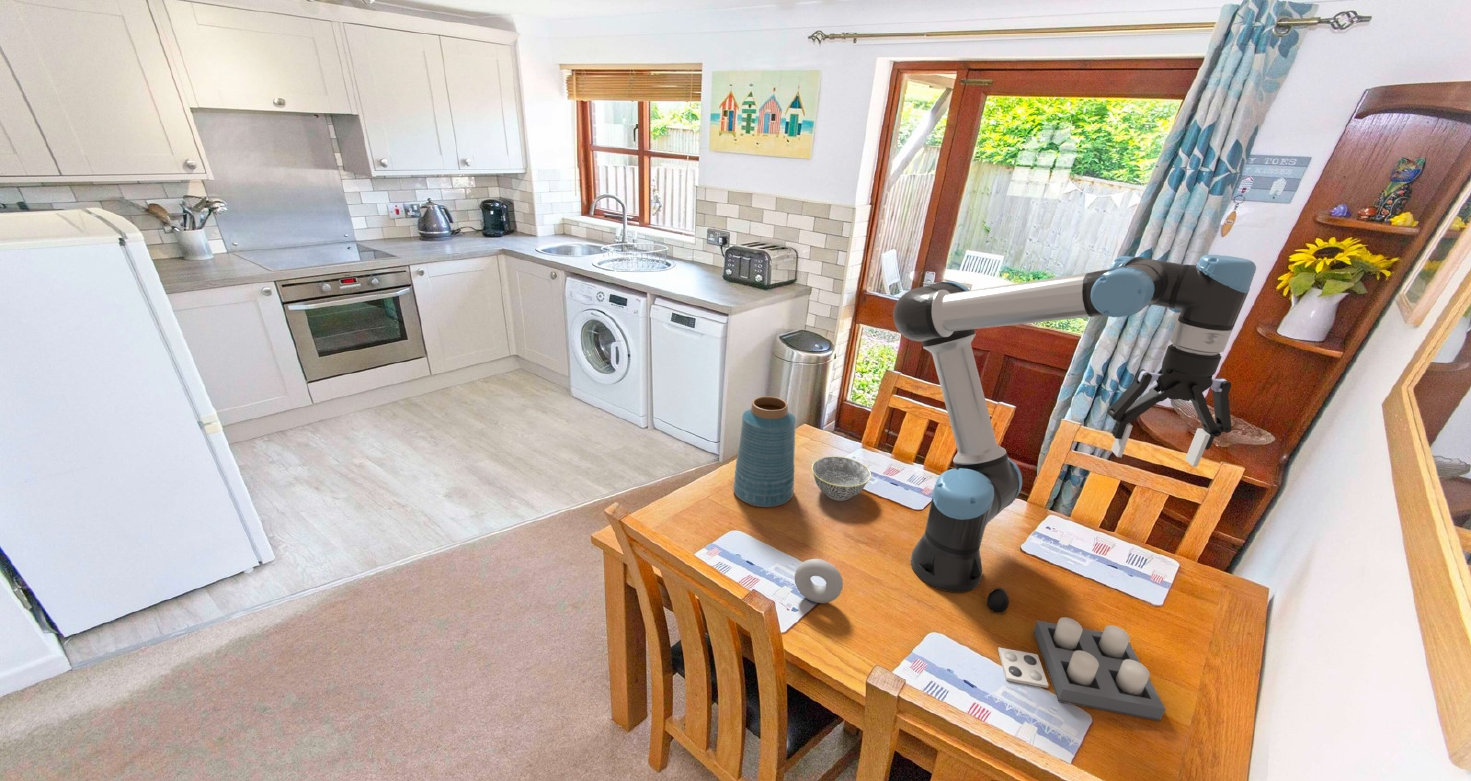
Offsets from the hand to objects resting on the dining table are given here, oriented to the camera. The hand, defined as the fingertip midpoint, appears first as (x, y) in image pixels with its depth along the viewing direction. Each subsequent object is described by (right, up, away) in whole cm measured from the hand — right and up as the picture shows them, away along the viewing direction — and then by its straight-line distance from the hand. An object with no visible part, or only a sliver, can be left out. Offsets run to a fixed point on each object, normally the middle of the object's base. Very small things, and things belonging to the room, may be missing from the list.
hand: (1153, 458), depth 107 cm
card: (-25, -39, -1) cm, 46 cm away
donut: (-61, -31, +13) cm, 70 cm away
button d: (-8, -36, +1) cm, 37 cm away
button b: (-9, -39, -7) cm, 40 cm away
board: (-12, -39, -1) cm, 41 cm away
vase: (-70, -15, +49) cm, 87 cm away
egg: (-23, -33, +13) cm, 43 cm away
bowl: (-50, -16, +50) cm, 72 cm away
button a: (-17, -38, -5) cm, 42 cm away
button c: (-15, -35, +2) cm, 38 cm away
